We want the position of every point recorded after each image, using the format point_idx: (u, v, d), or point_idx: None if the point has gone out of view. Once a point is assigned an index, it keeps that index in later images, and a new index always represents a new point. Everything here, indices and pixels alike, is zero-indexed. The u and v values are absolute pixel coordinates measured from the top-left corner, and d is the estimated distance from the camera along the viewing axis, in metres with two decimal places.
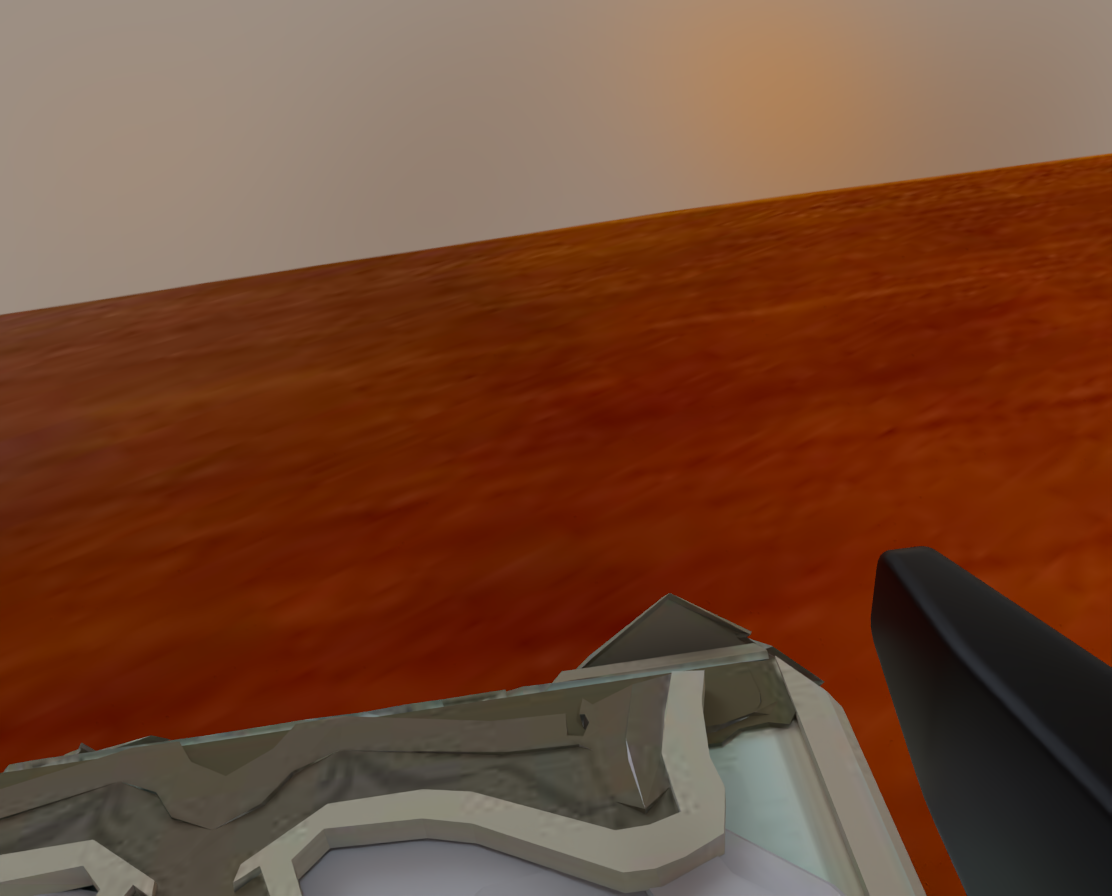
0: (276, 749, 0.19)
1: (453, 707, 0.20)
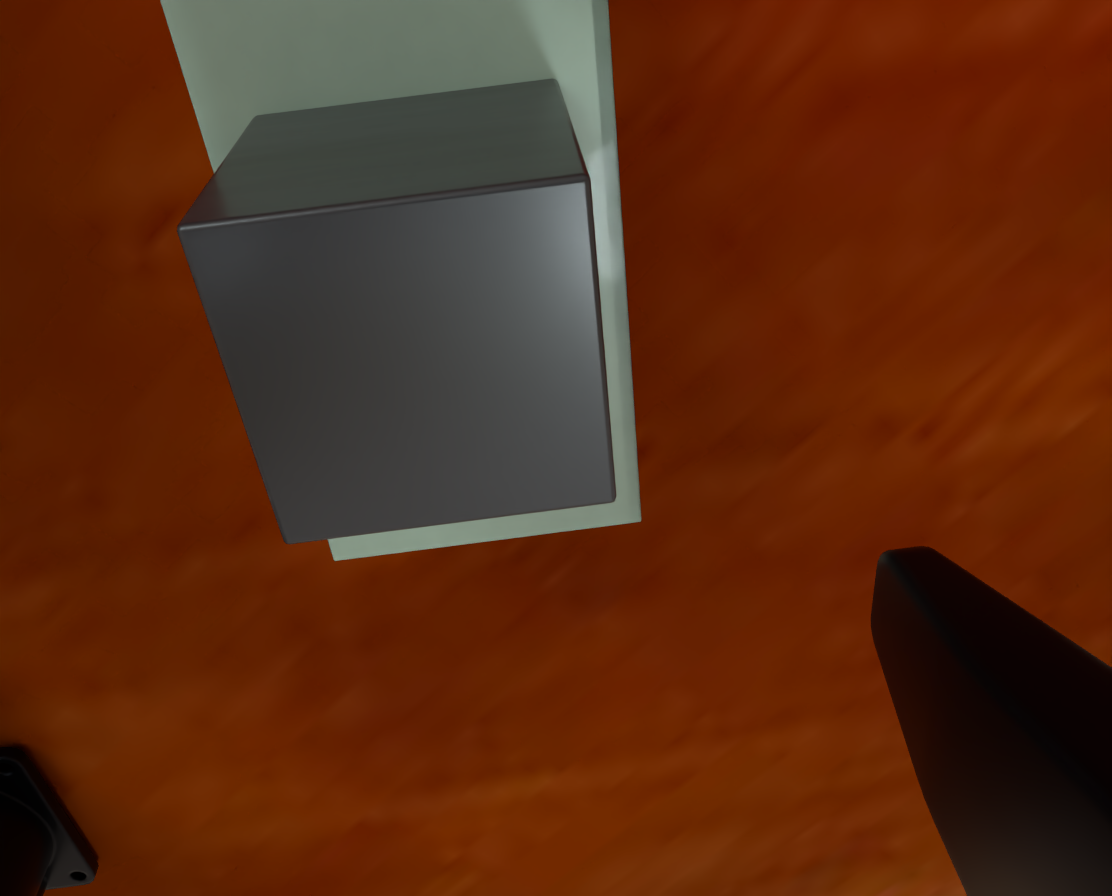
0: None
1: None
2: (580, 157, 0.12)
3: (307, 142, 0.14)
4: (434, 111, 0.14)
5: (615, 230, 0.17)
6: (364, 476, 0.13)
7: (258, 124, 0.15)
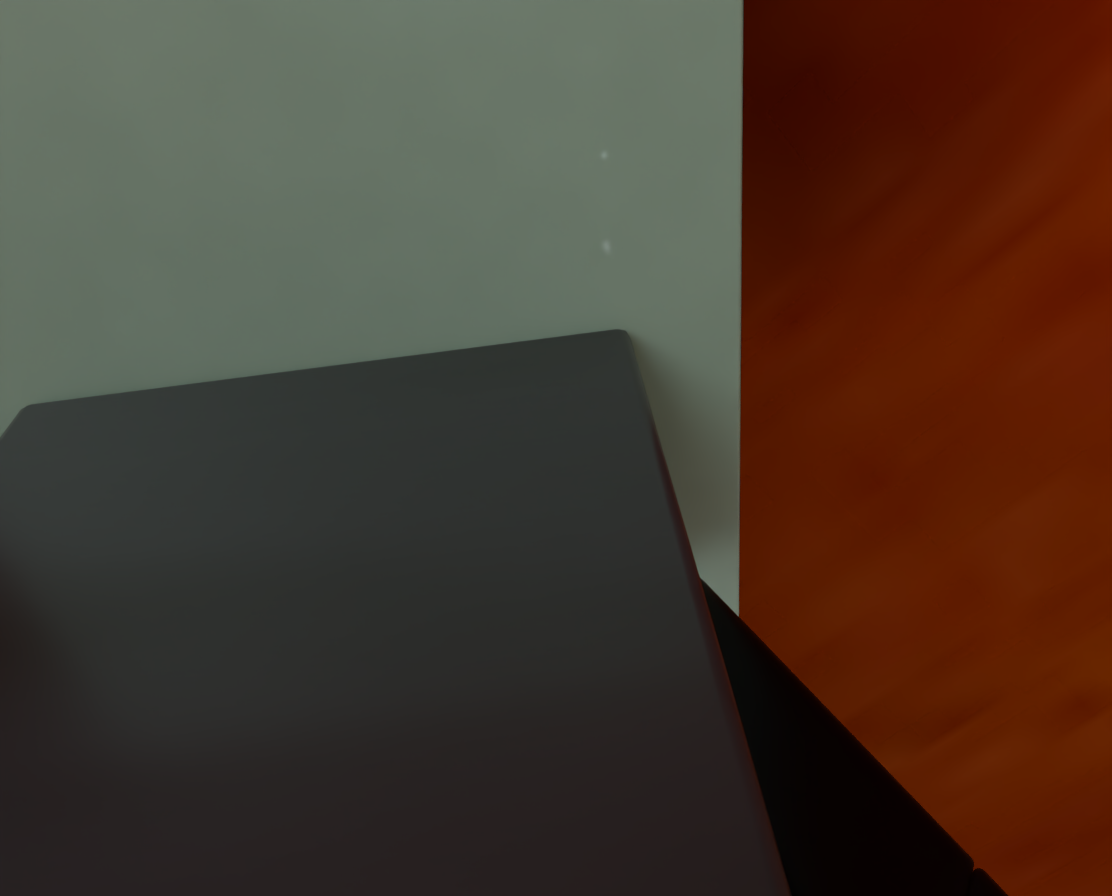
0: None
1: None
2: (746, 767, 0.04)
3: (79, 543, 0.06)
4: (374, 438, 0.07)
5: (726, 561, 0.09)
6: None
7: (13, 447, 0.07)
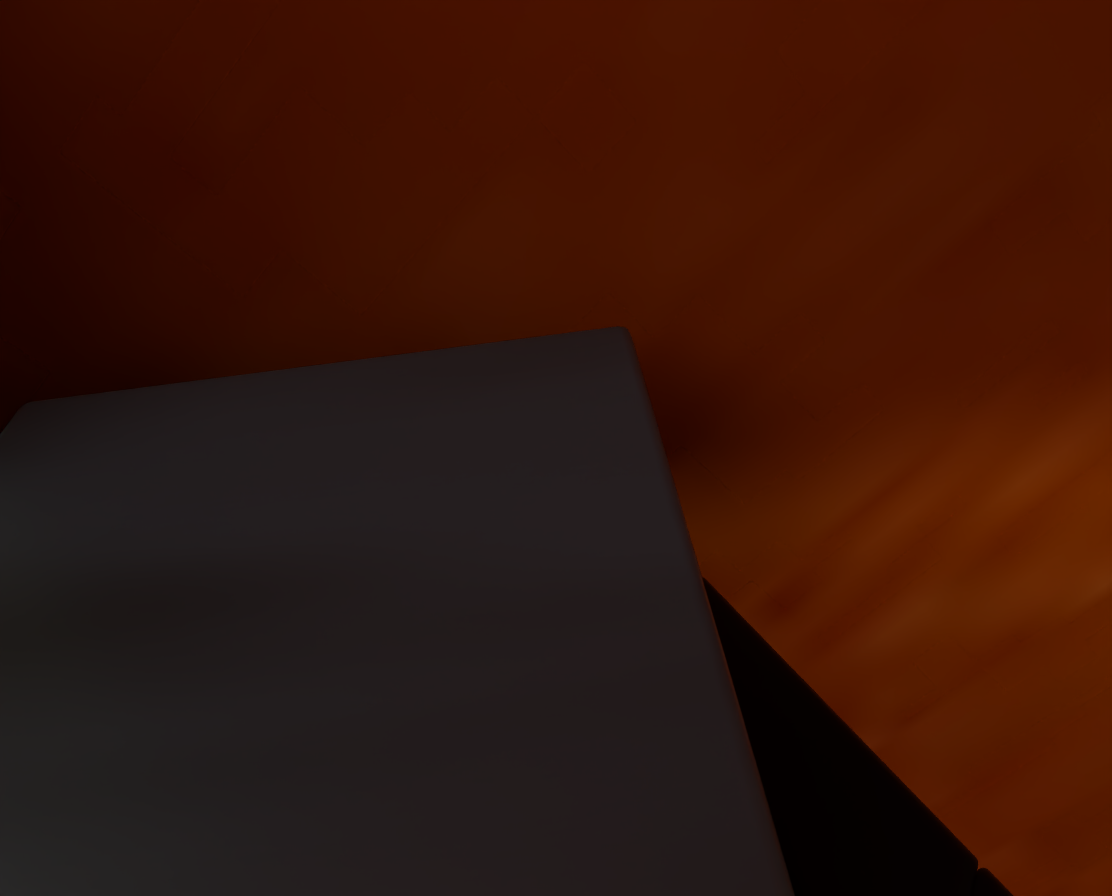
0: None
1: None
2: (747, 764, 0.04)
3: (78, 540, 0.06)
4: (374, 435, 0.07)
5: None
6: None
7: (12, 444, 0.07)
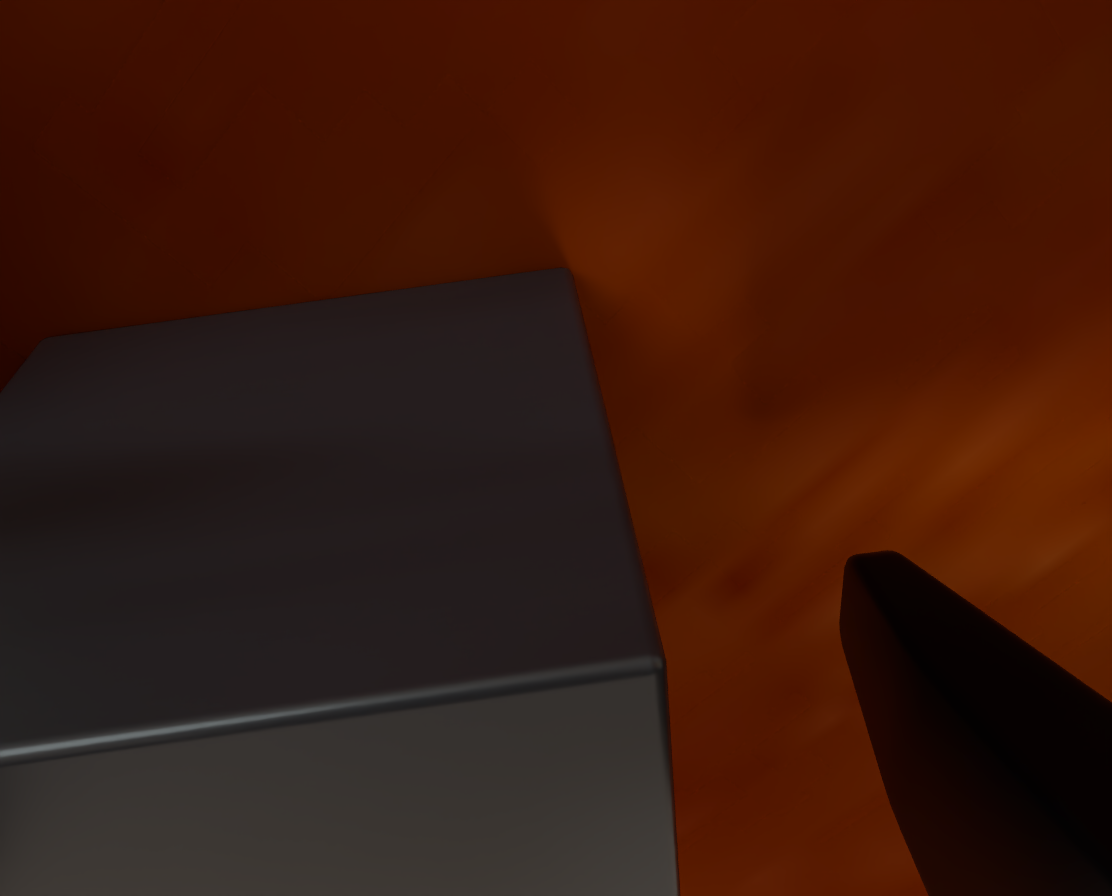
0: None
1: None
2: (636, 569, 0.05)
3: (97, 438, 0.07)
4: (348, 354, 0.08)
5: None
6: None
7: (35, 369, 0.08)
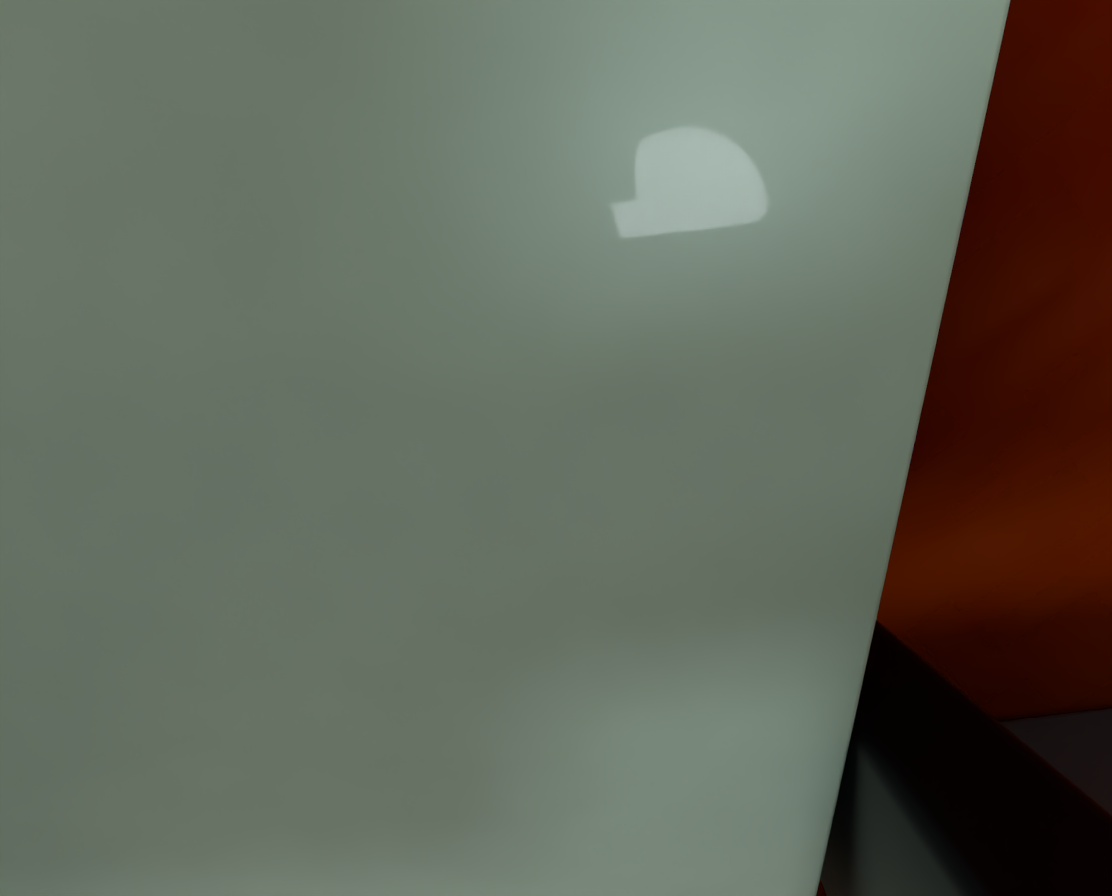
0: None
1: None
2: None
3: None
4: None
5: (811, 842, 0.07)
6: None
7: None
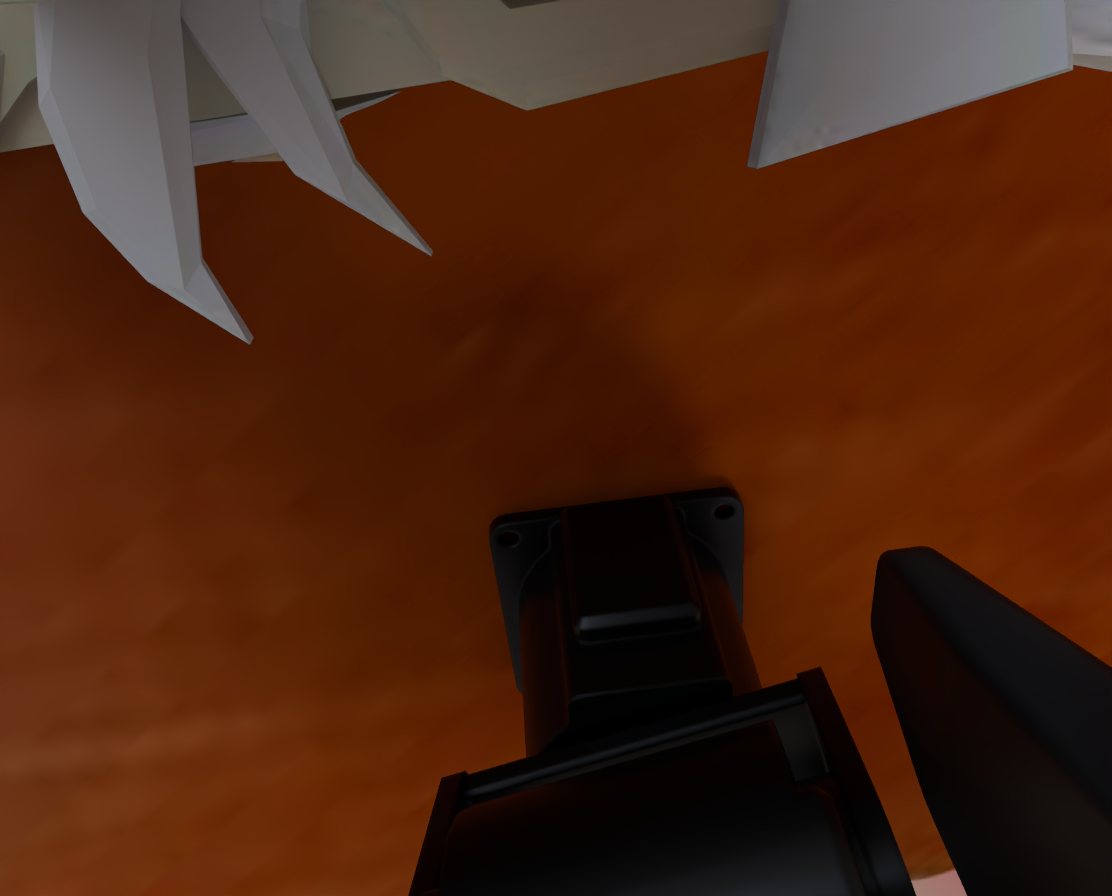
0: None
1: None
2: None
3: None
4: None
5: None
6: None
7: None
